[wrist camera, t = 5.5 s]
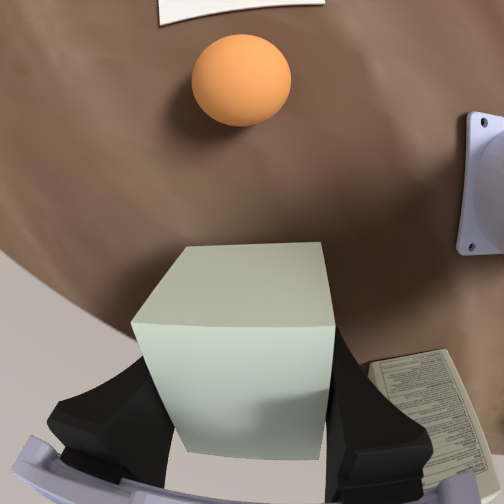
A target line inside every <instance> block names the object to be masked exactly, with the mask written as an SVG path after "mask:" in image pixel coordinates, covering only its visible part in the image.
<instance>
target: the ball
mask: <svg viewBox="0 0 504 504" xmlns="http://www.w3.org/2000/svg"><path fill="white" fill-rule="evenodd" d="M290 86H291V74H290V69H289V66H288V63H287V61H286V59H285V58H284V56H283V55H282V53H281V52H280V51H279V50H278V49H277V48H276V47H275V46H274V45H272V44H271V43H269V42H268V41H266V40H264V39H262V38H259V37H256V36H251V35H232V36H227V37H224V38H222V39H219V40H217V41H216V42H214V43H212V44H211V45H210V46H208V47H207V48H206V49H205V50H204V51H203V52H202V53H201V55H200V56H199V57H198V59H197V61H196V63H195V66H194V68H193V72H192V90H193V94H194V97H195V99H196V101H197V103H198V104H199V106H200V107H201V108H202V110H203V111H204V112H205V113H206V114H208V115H209V116H210V117H211V118H213V119H214V120H216V121H218V122H220V123H223V124H226V125H231V126H251V125H255V124H258V123H261V122H263V121H265V120H267V119H269V118H270V117H272V116H273V115H274V114H275V113H276V112H278V111H279V109H280V108H281V107H282V106H283V104H284V103H285V101H286V99H287V97H288V94H289V91H290Z"/></svg>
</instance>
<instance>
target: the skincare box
mask: <svg viewBox="0 0 504 504" xmlns="http://www.w3.org/2000/svg"><path fill="white" fill-rule="evenodd" d="M368 378H369V379H370V380H371V382H372V383H373V384H374V385H375V386H376V387H377V389H378V390H379V391H380V392H381V393H382V394H383V395H384V396H385V397H386V398H387V399H388V400H389V401H390V402H392V403H393V404H394V405H395V406H396V407H397V408H398V409H399V410H401V411H402V412H403V413H404V414H406V415H407V416H408V417H410V418H411V419H413V420H414V421H416V422H417V423H419V424H420V425H422V426H423V427H425V428H426V430H427V432H428V434H429V437H430V439H431V442H432V445H433V451H434V453H433V455H432V457H431V458H430V460H429V461H428V462H427V463H426V465H425V466H424V467H423V473H424V477H423V478H422V485H423V489H428V488H432V487H436V486H437V485H438V484H439V483H440V482H441V481H442V480H443V479H445V478H447V477H450V476H453V475H456V474H460V473H463V472H466V471H469V470H474V473H475V477H476V481H477V485H478V489H479V494H480V499H481V503H482V504H486V503H487V502H488V501H490V500H491V499H493V498H494V497H495V496H496V495H498V493H500V492H501V491H502V488H501V485H500V482H499V478H498V475H497V471H496V468H495V465H494V462H493V459H492V456H491V453H490V450H489V447H488V444H487V442H486V439H485V436H484V433H483V431H482V428H481V426H480V423H479V420H478V418H477V415H476V413H475V410H474V408H473V406H472V403H471V401H470V399H469V396H468V394H467V392H466V389H465V387H464V385H463V383H462V380H461V378H460V376H459V374H458V372H457V370H456V368H455V366H454V364H453V361H452V359H451V357H450V355H449V353H448V351H447V350H446V349H440V350H435V351H430V352H425V353H420V354H415V355H410V356H404V357H399V358H393V359H388V360H382V361H376V362H372V363H370V367H369V373H368Z"/></svg>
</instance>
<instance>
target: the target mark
mask: <svg viewBox="0 0 504 504" xmlns="http://www.w3.org/2000/svg"><path fill="white" fill-rule="evenodd" d="M289 5H325V0H159V15H160V25H161V26H163V25H167V24H171V23H174V22H179V21H183V20H187V19H192V18H196V17H201V16H206V15H212V14H217V13H223V12H229V11H236V10H244V9H252V8H262V7H273V6H289Z"/></svg>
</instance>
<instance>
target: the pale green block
mask: <svg viewBox="0 0 504 504" xmlns="http://www.w3.org/2000/svg"><path fill="white" fill-rule="evenodd" d="M130 323H131V325H132V328H133V331H134V334H135V336H136V339H137V342H138V344H139V347H140V349H141V352H142V354H143V357H144V360H145V362H146V364H147V367H148V369H149V372H150V374H151V376H152V379H153V381H154V383H155V386H156V388H157V390H158V393H159V395H160V397H161V399H162V401H163V404H164V406H165V408H166V410H167V412H168V414H169V416H170V418H171V420H172V422H173V424H174V426H175V428H176V430H177V432H178V434H179V436H180V438H181V440H182V442H183V444H184V446H185V447H186V449H187V451H188V452H194V453H200V454H208V455H215V456H224V457H234V458H247V459H265V460H319V455H320V449H321V443H322V437H323V431H324V424H325V418H326V410H327V403H328V395H329V387H330V379H331V369H332V360H333V349H334V338H335V320H334V313H333V307H332V301H331V295H330V289H329V283H328V278H327V272H326V267H325V262H324V256H323V251H322V246H321V242H304V243H274V244H245V245H218V246H192V247H186V248H185V249H184V251H183V252H182V253H181V255H180V256H179V257H178V258H177V260H176V261H175V262H174V264H173V265H172V266H171V268H170V269H169V270H168V272H167V273H166V274H165V276H164V277H163V278H162V280H161V281H160V282H159V284H158V285H157V286H156V288H155V289H154V290H153V292H152V293H151V295H150V296H149V297H148V299H147V300H146V301H145V303H144V304H143V306H142V307H141V308H140V310H139V311H138V313H137V314H136V315H135V317H134V318H133V320H132V321H131V322H130Z"/></svg>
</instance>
